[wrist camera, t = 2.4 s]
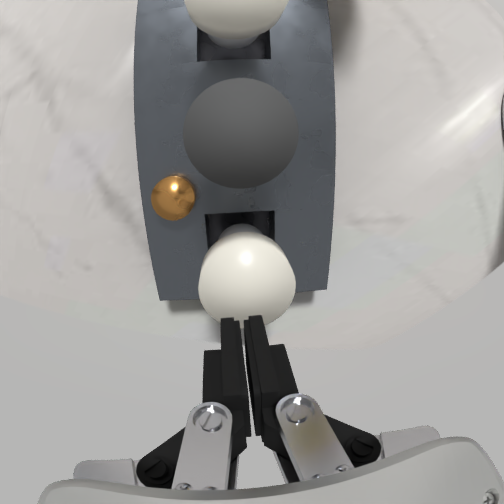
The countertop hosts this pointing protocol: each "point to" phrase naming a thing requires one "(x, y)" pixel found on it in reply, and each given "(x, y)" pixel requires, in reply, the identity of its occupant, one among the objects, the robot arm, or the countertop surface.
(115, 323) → the countertop surface
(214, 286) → the knob
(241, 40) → the knob
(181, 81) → the panel
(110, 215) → the countertop surface
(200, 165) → the knob middle
